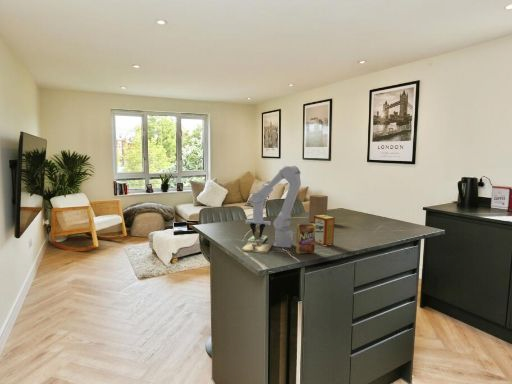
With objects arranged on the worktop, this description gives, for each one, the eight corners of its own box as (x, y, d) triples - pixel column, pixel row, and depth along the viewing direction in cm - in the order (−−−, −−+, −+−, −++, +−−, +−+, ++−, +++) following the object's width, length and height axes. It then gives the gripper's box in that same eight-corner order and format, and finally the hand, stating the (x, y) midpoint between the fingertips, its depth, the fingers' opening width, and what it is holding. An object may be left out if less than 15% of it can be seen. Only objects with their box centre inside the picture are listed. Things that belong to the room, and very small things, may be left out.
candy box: (297, 254, 165) (298, 224, 163) (295, 251, 169) (296, 222, 167) (314, 254, 165) (315, 224, 164) (312, 251, 170) (313, 222, 168)
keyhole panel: (267, 237, 194) (267, 229, 194) (261, 243, 181) (262, 234, 181) (253, 236, 196) (253, 228, 196) (247, 242, 184) (247, 233, 183)
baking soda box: (333, 245, 183) (334, 217, 182) (324, 246, 180) (326, 218, 178) (321, 241, 191) (322, 214, 190) (313, 242, 188) (314, 215, 186)
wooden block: (308, 222, 245) (309, 195, 242) (315, 220, 252) (316, 194, 250) (320, 224, 238) (321, 197, 236) (326, 222, 246) (328, 195, 243)
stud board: (272, 246, 178) (272, 240, 178) (266, 253, 165) (266, 246, 165) (248, 243, 181) (248, 238, 181) (241, 250, 168) (241, 244, 168)
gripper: (271, 213, 189) (271, 235, 191) (247, 211, 193) (247, 233, 194) (269, 215, 182) (268, 238, 184) (244, 213, 186) (244, 236, 187)
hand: (257, 236), depth 189 cm, fingers closed on keyhole panel, 3 cm apart
